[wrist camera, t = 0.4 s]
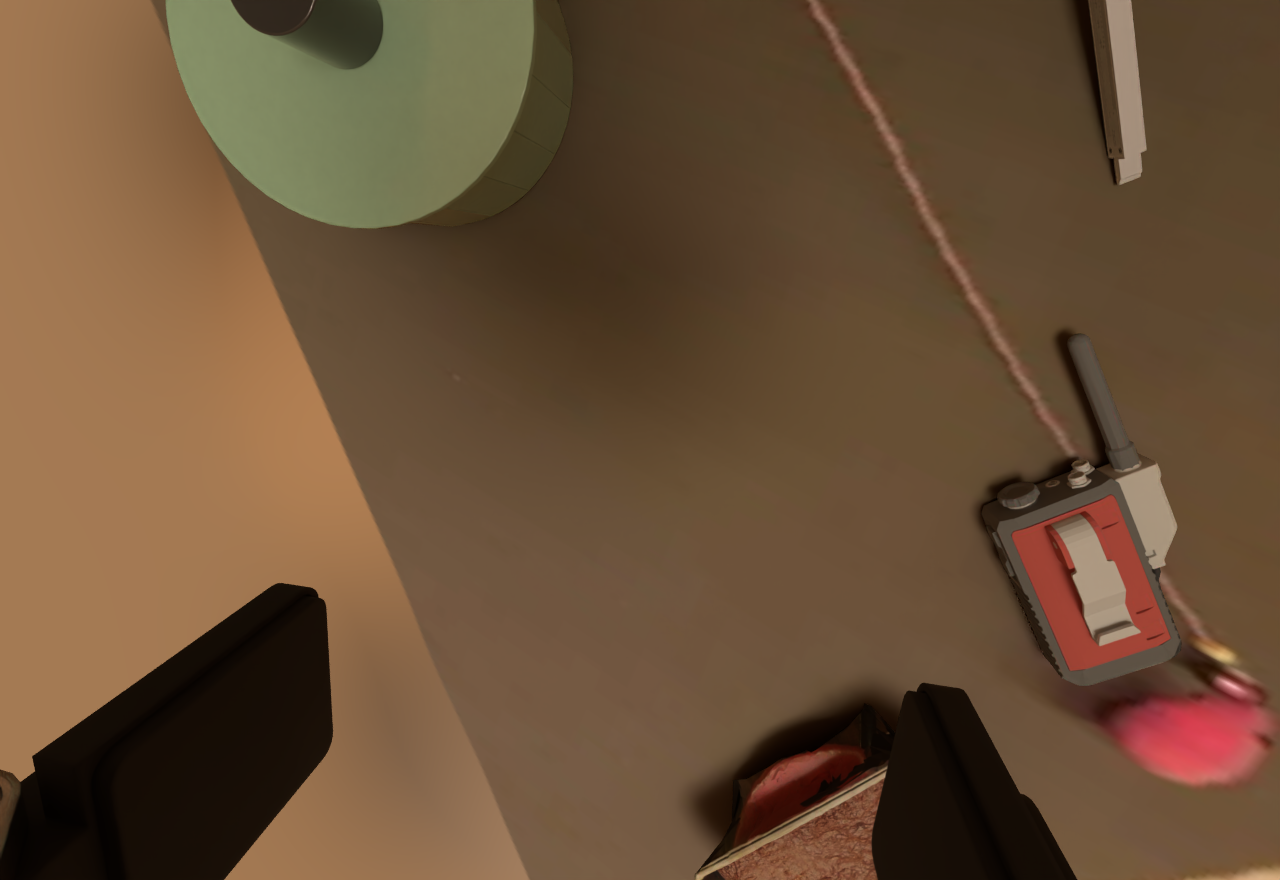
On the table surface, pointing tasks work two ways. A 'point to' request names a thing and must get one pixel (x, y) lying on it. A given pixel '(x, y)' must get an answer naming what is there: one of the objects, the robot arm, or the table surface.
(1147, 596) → the walkie-talkie
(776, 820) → the baking dish
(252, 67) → the pot lid
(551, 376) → the table surface
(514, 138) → the pot
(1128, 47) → the caliper
